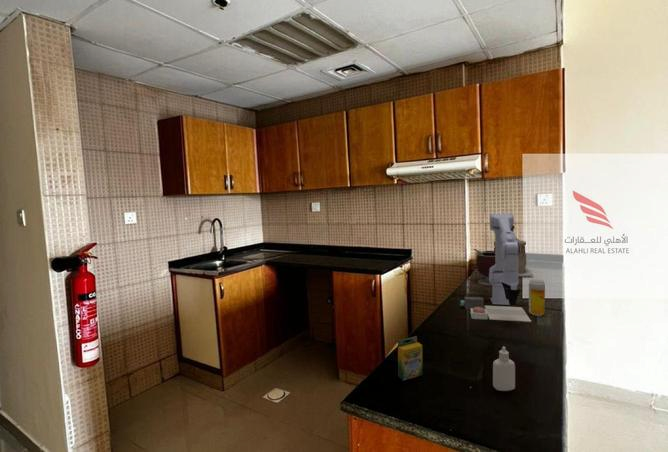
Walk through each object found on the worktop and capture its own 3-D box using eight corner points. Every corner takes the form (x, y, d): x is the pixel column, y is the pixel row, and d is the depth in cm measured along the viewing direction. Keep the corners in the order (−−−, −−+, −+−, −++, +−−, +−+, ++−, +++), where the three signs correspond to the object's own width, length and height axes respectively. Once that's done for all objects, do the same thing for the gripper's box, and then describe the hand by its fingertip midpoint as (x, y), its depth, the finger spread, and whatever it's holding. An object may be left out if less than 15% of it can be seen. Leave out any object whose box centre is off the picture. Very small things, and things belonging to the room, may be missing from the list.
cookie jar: (526, 269, 238) (527, 222, 235) (534, 278, 215) (535, 226, 212) (487, 268, 246) (487, 222, 243) (490, 276, 223) (490, 226, 220)
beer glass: (546, 316, 152) (547, 282, 150) (531, 316, 153) (531, 282, 151) (541, 311, 158) (541, 279, 156) (526, 311, 159) (526, 279, 157)
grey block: (460, 306, 170) (460, 296, 169) (482, 307, 167) (482, 297, 166) (460, 309, 166) (460, 298, 166) (483, 310, 163) (483, 299, 163)
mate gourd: (503, 280, 211) (503, 248, 210) (500, 286, 200) (500, 251, 198) (476, 278, 220) (475, 246, 218) (471, 283, 208) (471, 250, 206)
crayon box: (403, 381, 106) (402, 344, 104) (397, 376, 108) (396, 340, 107) (423, 375, 108) (422, 339, 107) (417, 371, 111) (416, 335, 110)
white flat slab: (484, 306, 168) (484, 305, 168) (521, 307, 164) (521, 307, 164) (489, 319, 151) (489, 318, 151) (531, 321, 147) (531, 321, 147)
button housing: (470, 313, 159) (470, 308, 159) (485, 314, 157) (485, 309, 157) (471, 318, 153) (471, 313, 153) (487, 319, 151) (487, 313, 151)
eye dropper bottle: (493, 382, 103) (493, 342, 102) (514, 385, 101) (515, 345, 99) (492, 389, 99) (492, 348, 98) (515, 394, 97) (515, 352, 96)
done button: (473, 311, 158) (473, 306, 157) (482, 311, 156) (482, 307, 156) (474, 314, 154) (474, 309, 154) (483, 314, 153) (483, 309, 153)
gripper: (497, 266, 154) (497, 296, 155) (503, 273, 140) (503, 307, 141) (515, 266, 152) (515, 297, 153) (522, 274, 138) (522, 308, 139)
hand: (510, 302), depth 147 cm, fingers open, 7 cm apart
